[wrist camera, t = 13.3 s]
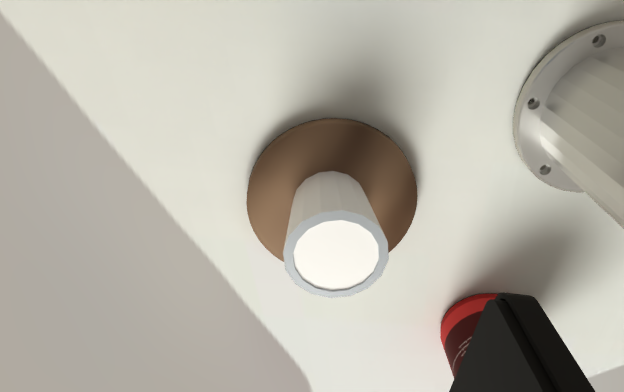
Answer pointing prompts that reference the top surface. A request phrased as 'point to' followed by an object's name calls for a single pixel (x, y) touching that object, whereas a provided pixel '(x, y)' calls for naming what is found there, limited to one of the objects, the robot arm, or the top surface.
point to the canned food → (461, 327)
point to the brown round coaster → (322, 158)
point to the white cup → (333, 237)
